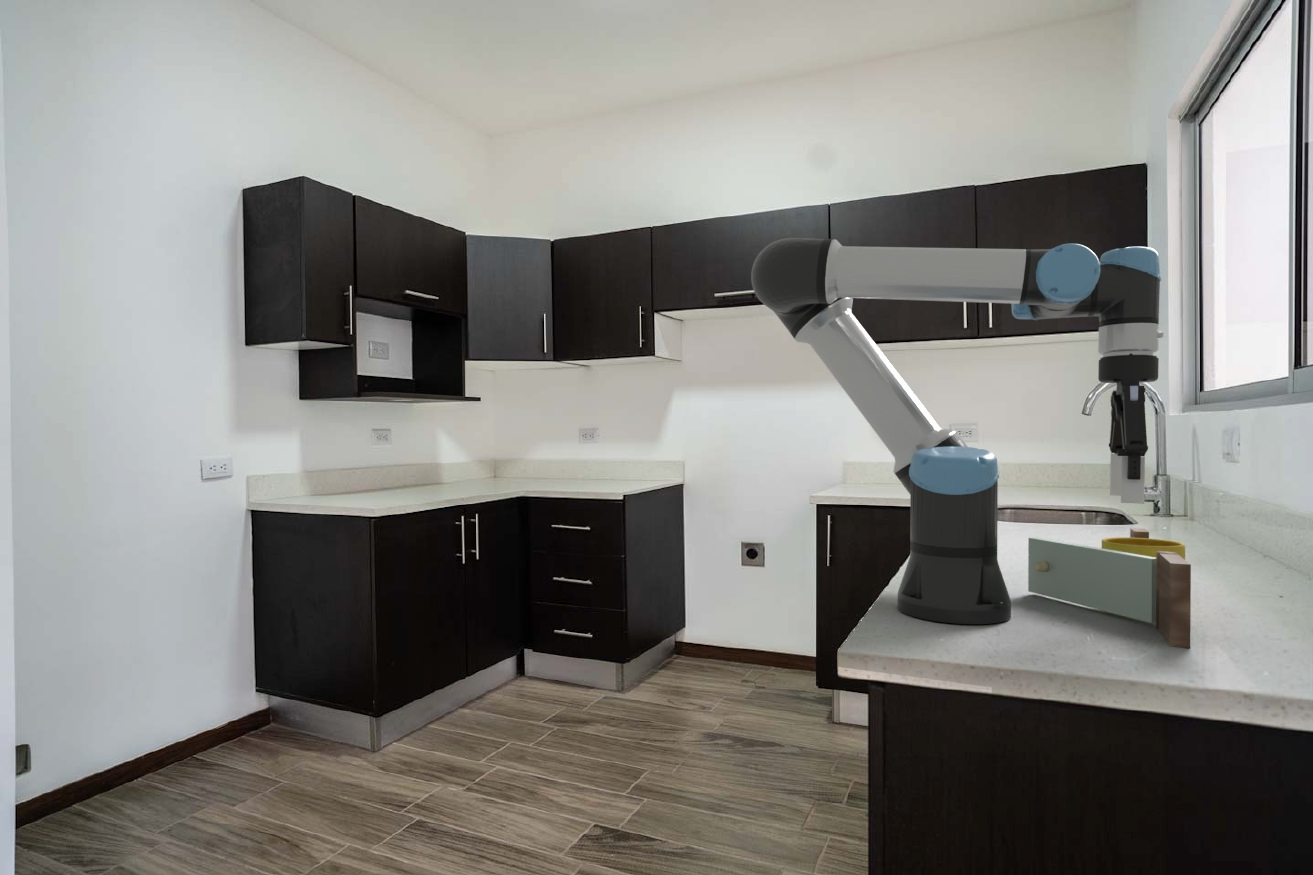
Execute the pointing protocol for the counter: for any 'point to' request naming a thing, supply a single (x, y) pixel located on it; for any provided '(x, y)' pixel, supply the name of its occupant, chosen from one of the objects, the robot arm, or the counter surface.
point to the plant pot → (1143, 546)
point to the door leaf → (1094, 577)
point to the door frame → (1171, 594)
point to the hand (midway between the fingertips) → (1125, 499)
